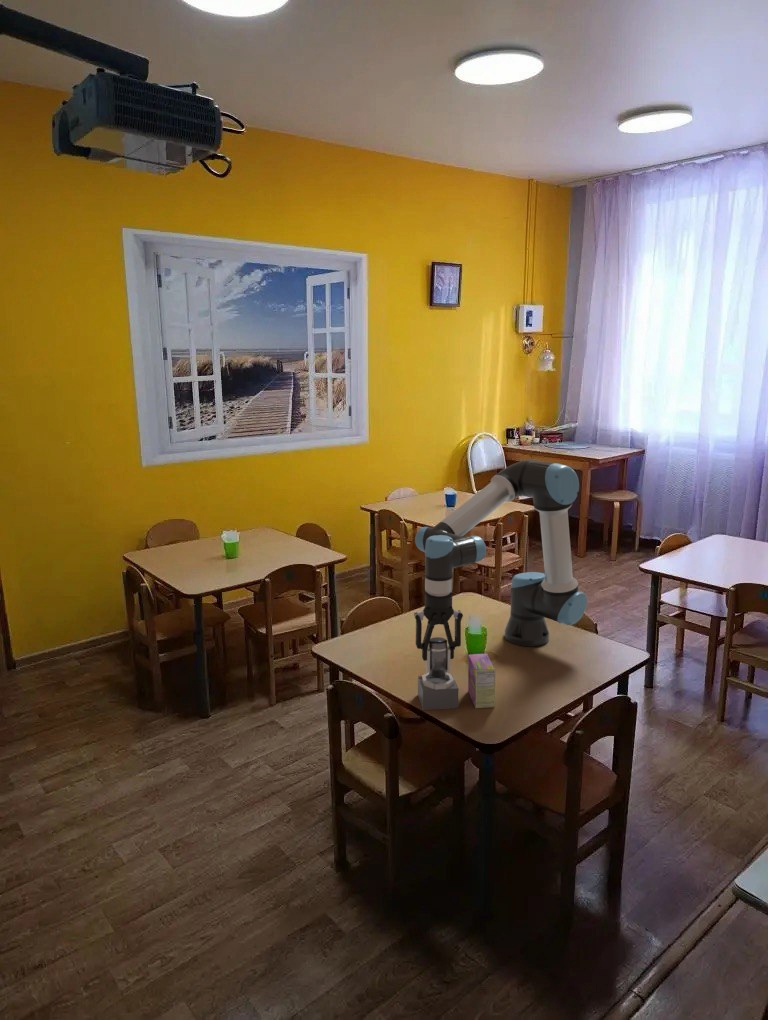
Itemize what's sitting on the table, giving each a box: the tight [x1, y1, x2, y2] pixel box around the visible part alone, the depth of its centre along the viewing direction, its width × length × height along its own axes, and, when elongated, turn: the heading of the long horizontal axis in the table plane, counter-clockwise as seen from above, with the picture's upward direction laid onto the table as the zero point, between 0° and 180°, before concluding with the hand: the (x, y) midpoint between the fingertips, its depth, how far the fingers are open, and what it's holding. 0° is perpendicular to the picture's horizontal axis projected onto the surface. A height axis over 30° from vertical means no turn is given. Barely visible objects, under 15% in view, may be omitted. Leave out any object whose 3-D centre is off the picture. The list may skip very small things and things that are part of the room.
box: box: [467, 653, 497, 709], centre depth 196 cm, size 10×6×12 cm, turn 5°
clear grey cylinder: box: [428, 636, 448, 678], centre depth 193 cm, size 5×5×10 cm
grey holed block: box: [417, 672, 459, 711], centre depth 196 cm, size 10×9×7 cm
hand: (437, 669), depth 194 cm, fingers closed on clear grey cylinder, 5 cm apart
